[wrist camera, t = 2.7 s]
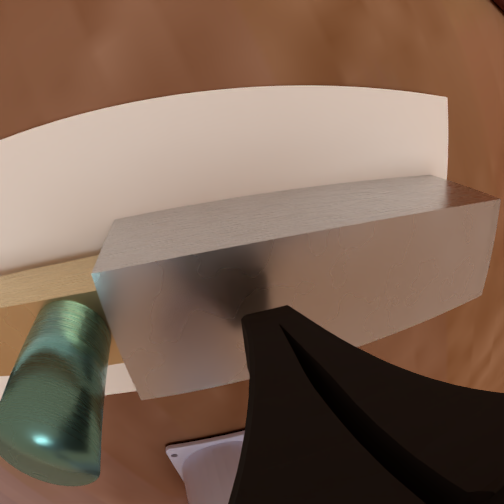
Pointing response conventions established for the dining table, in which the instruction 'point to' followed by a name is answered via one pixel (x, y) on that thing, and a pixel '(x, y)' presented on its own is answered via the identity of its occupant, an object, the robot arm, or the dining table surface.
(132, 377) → the steel sleeve
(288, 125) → the base board
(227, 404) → the dining table surface
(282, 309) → the robot arm
